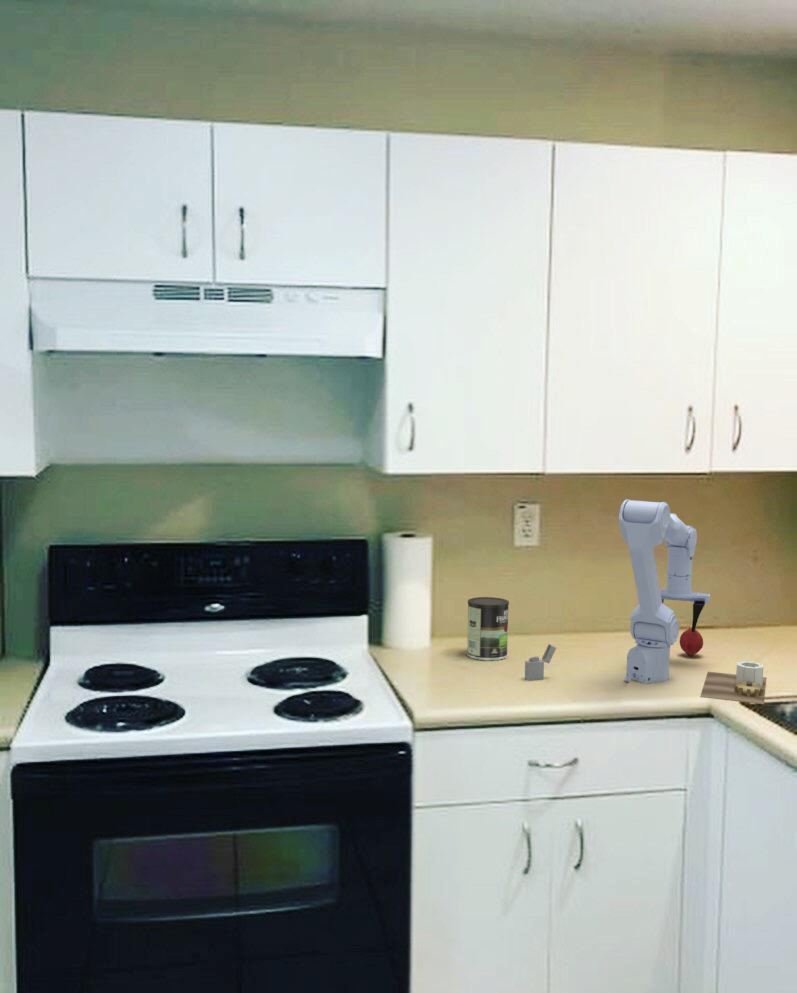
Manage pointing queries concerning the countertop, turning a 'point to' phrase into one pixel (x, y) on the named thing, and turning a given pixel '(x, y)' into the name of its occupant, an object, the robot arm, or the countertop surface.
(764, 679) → the gear board
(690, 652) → the onion
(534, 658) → the lighter
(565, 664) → the countertop surface
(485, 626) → the coffee can
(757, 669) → the hollow cylinder
